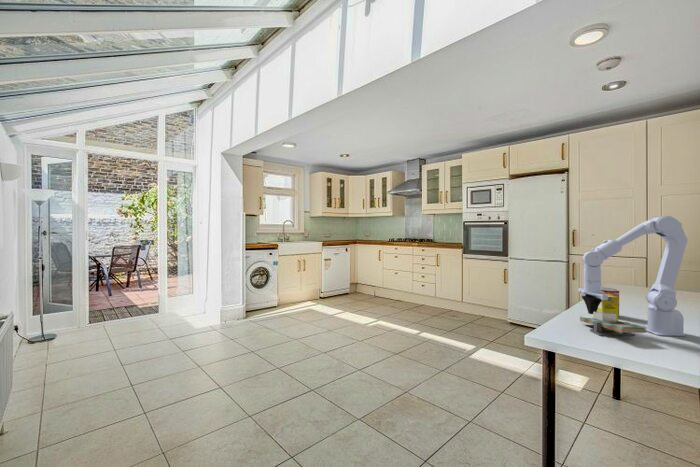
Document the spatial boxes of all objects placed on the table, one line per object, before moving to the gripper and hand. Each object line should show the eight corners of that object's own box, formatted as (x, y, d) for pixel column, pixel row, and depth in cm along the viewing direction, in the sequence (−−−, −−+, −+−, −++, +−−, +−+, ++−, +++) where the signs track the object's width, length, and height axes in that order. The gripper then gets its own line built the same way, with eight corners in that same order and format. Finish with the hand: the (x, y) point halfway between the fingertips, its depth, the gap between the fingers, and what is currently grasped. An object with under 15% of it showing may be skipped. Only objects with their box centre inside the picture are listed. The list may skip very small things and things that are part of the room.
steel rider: (607, 320, 125) (606, 311, 125) (616, 323, 120) (616, 313, 120) (593, 320, 125) (593, 311, 126) (602, 323, 120) (602, 313, 121)
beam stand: (590, 331, 122) (590, 320, 122) (623, 331, 121) (623, 320, 121) (599, 335, 117) (599, 324, 117) (634, 336, 116) (634, 324, 116)
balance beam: (579, 320, 131) (579, 316, 131) (600, 321, 131) (600, 316, 131) (621, 332, 109) (620, 327, 110) (646, 332, 109) (646, 327, 109)
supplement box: (618, 323, 132) (618, 297, 132) (602, 322, 133) (602, 296, 133) (610, 319, 138) (610, 294, 138) (594, 318, 139) (594, 293, 139)
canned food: (603, 317, 141) (603, 290, 141) (593, 312, 149) (593, 287, 148) (623, 317, 139) (623, 290, 139) (611, 313, 147) (611, 287, 147)
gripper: (570, 277, 137) (570, 309, 137) (594, 283, 123) (594, 318, 123) (587, 278, 137) (587, 309, 137) (613, 283, 122) (613, 318, 122)
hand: (592, 313), depth 130 cm, fingers closed
